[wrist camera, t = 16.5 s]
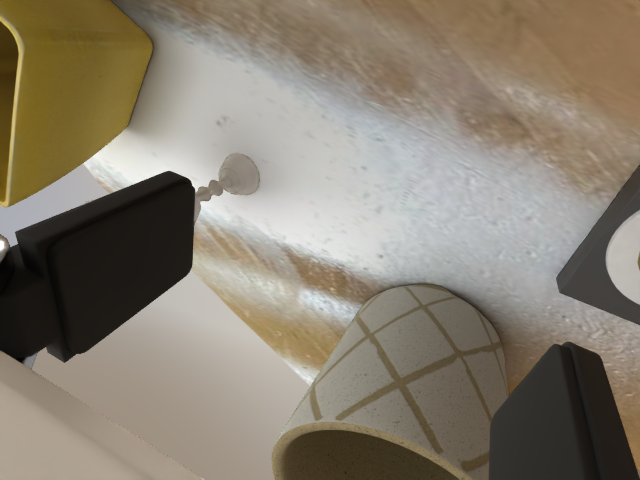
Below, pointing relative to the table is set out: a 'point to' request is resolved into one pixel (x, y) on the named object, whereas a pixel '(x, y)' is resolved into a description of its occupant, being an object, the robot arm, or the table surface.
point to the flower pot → (63, 87)
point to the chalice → (229, 180)
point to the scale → (609, 259)
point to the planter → (400, 395)
